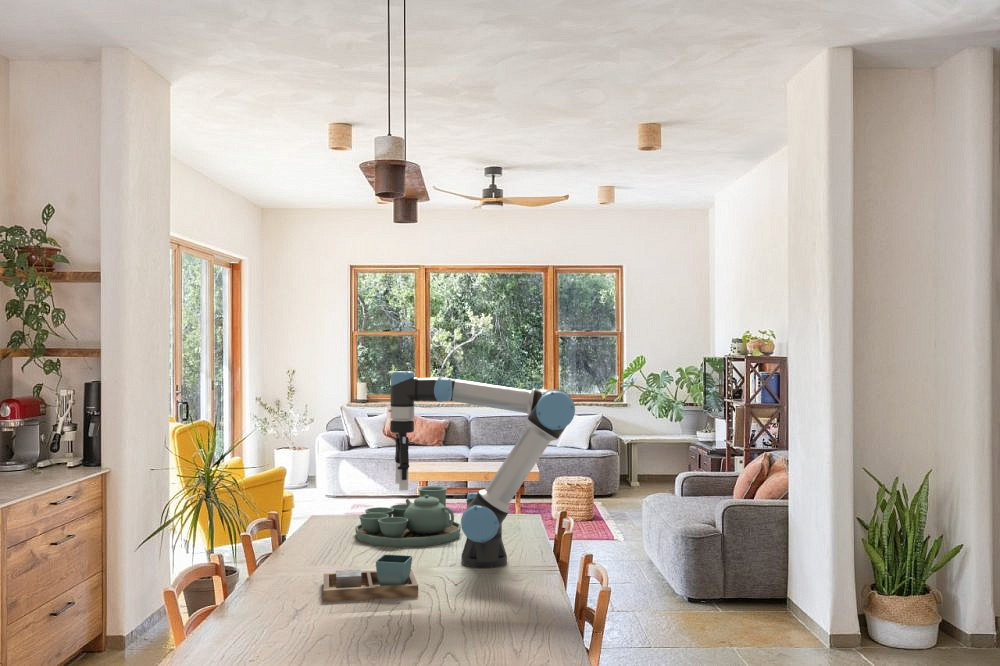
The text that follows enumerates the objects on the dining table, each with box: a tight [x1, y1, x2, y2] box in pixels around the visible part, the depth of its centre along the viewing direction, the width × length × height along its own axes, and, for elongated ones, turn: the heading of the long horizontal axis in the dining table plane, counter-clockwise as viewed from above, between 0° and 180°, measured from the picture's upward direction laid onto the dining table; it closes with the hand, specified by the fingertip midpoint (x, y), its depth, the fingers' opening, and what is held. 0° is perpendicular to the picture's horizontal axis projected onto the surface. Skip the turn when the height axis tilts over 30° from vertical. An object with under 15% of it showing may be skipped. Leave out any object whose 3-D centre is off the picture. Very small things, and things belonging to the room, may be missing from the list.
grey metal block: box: [335, 569, 362, 588], centre depth 237 cm, size 7×7×5 cm
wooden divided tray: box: [322, 568, 419, 603], centre depth 238 cm, size 26×18×4 cm
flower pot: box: [375, 554, 413, 586], centre depth 239 cm, size 9×9×9 cm
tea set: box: [355, 485, 462, 548], centre depth 314 cm, size 40×40×16 cm
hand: (401, 486), depth 263 cm, fingers open, 13 cm apart
